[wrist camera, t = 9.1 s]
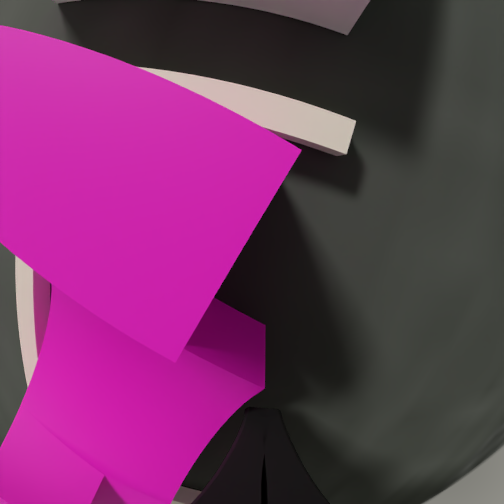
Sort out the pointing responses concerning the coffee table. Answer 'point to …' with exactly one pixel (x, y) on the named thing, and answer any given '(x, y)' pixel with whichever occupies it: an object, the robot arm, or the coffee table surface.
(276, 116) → the frame
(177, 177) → the toy block
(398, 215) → the coffee table surface
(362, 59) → the coffee table surface
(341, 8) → the dome housing
